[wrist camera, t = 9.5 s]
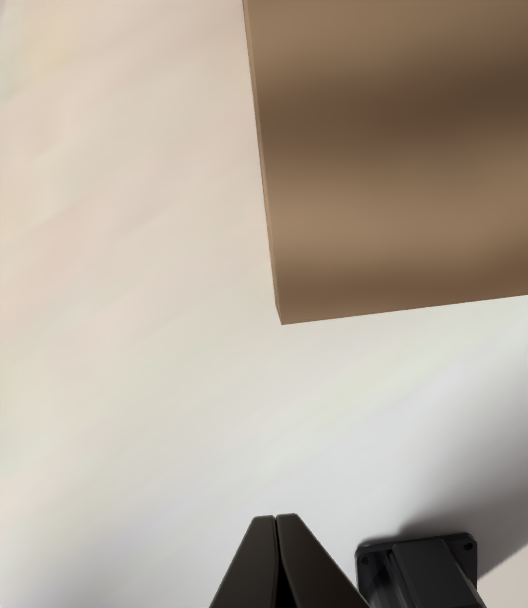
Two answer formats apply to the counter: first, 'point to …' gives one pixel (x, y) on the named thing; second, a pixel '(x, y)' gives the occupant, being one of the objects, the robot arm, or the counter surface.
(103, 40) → the counter surface
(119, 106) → the counter surface
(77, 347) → the counter surface
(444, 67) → the walnut deck
